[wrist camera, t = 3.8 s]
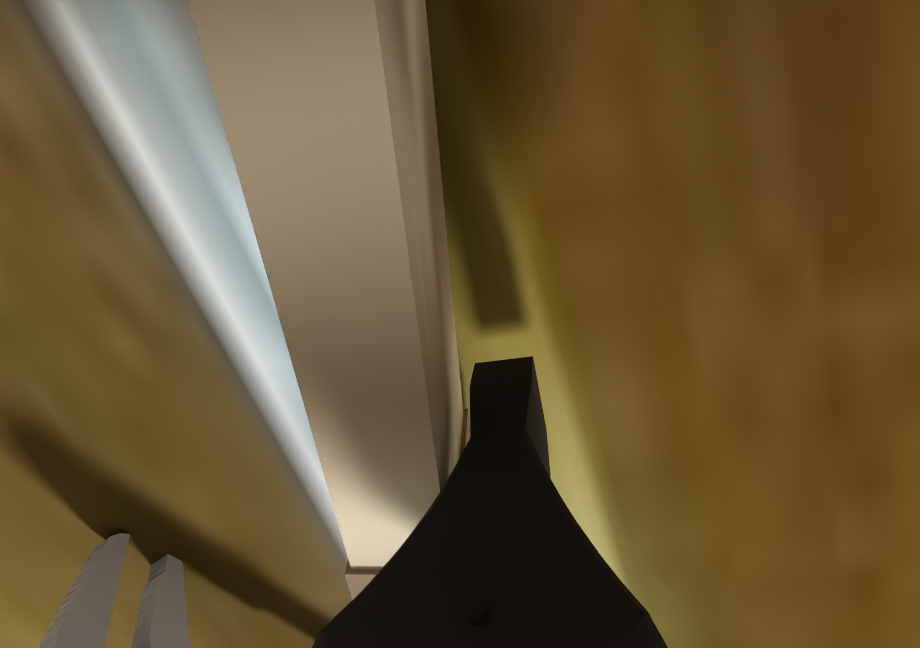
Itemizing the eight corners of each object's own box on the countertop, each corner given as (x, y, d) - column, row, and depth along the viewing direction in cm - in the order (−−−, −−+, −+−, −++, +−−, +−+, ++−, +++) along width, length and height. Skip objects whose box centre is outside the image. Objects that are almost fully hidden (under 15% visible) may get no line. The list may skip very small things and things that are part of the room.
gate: (285, -84, 9) (162, -34, 6) (424, -95, 9) (376, -50, 6) (390, 457, 16) (359, 622, 13) (472, 457, 16) (462, 624, 13)
